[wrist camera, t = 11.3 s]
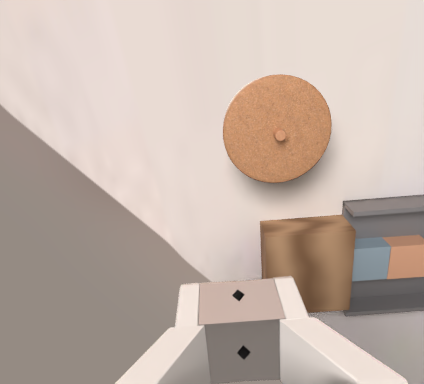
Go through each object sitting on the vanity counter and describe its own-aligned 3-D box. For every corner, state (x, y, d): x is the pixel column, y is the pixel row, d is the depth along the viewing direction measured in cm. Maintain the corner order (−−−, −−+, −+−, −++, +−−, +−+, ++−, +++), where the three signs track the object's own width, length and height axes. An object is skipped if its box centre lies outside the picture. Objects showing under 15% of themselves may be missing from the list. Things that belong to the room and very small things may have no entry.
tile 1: (391, 246, 43) (382, 237, 46) (386, 279, 45) (378, 268, 47) (430, 244, 43) (419, 234, 46) (424, 276, 45) (413, 266, 47)
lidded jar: (242, 176, 43) (251, 205, 34) (205, 98, 39) (204, 109, 31) (322, 139, 41) (352, 160, 33) (290, 55, 38) (315, 53, 29)
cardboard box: (342, 214, 45) (356, 230, 41) (337, 288, 49) (349, 309, 45) (260, 221, 45) (265, 237, 41) (262, 294, 50) (267, 315, 45)
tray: (450, 192, 44) (469, 203, 41) (431, 292, 50) (446, 308, 47) (343, 201, 44) (353, 212, 41) (336, 299, 50) (345, 316, 47)
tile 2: (381, 236, 46) (390, 246, 43) (378, 268, 47) (386, 278, 45) (344, 239, 46) (352, 249, 43) (342, 270, 48) (349, 281, 45)
